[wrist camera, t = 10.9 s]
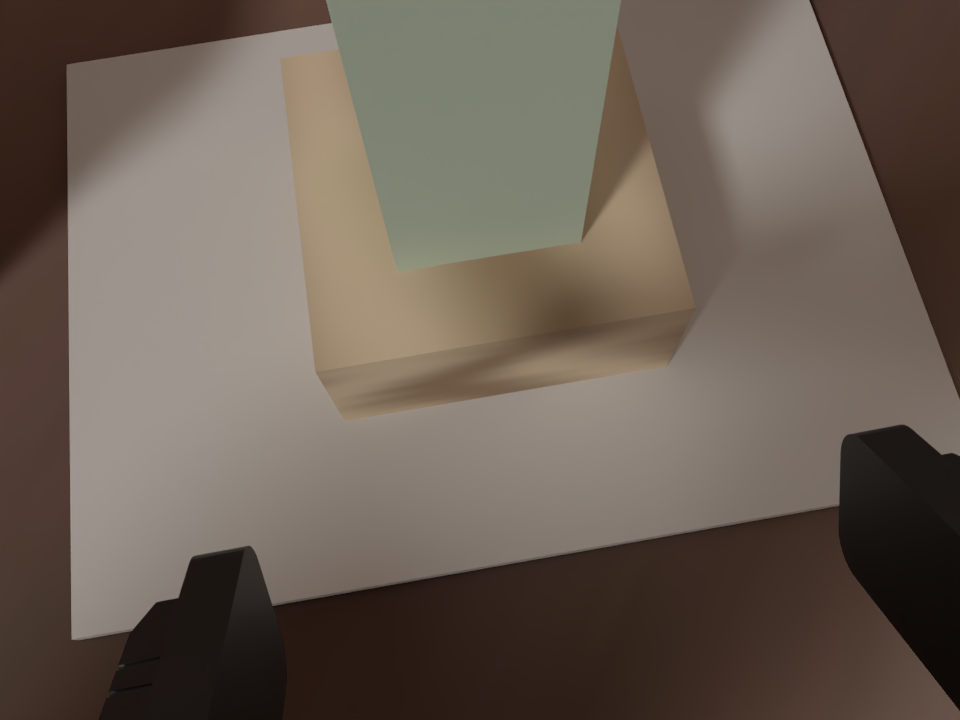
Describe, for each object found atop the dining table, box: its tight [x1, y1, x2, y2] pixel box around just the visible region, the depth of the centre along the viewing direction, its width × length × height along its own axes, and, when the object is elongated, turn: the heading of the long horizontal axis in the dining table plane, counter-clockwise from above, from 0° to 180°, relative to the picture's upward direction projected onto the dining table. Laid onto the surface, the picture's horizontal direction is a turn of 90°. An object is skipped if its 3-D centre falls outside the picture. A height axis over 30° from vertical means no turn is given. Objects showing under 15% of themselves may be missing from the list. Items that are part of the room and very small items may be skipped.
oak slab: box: [280, 26, 696, 421], centre depth 24 cm, size 9×9×4 cm
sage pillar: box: [326, 0, 621, 272], centre depth 17 cm, size 4×4×11 cm
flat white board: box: [67, 0, 960, 640], centre depth 26 cm, size 24×18×1 cm
